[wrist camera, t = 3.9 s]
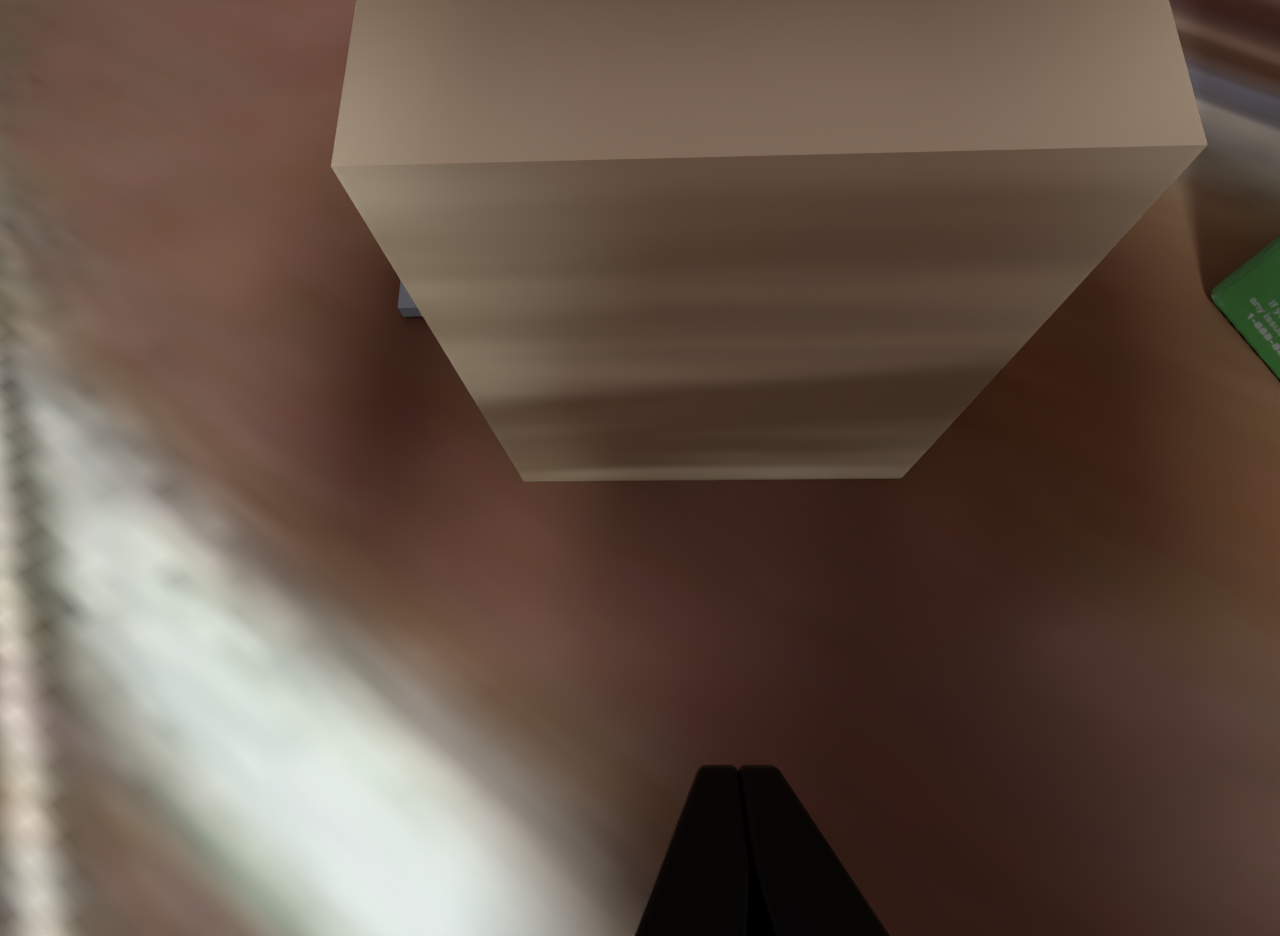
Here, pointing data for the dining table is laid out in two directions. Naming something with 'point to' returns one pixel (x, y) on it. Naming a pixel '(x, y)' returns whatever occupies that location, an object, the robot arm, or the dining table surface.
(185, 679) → the dining table surface
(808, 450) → the maple slab
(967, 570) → the dining table surface
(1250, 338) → the ink box
